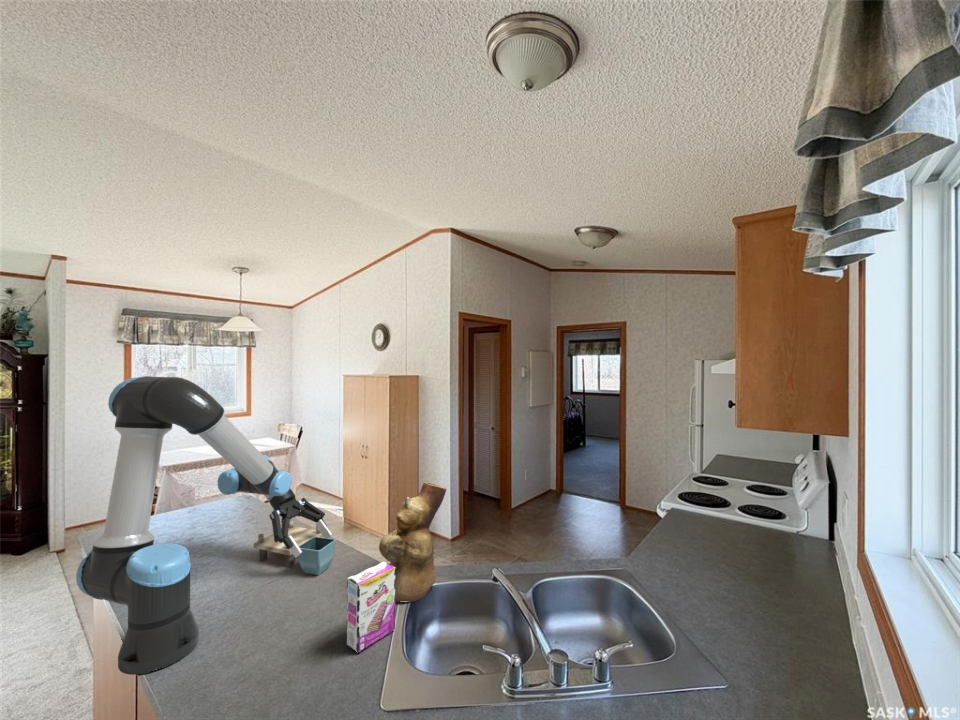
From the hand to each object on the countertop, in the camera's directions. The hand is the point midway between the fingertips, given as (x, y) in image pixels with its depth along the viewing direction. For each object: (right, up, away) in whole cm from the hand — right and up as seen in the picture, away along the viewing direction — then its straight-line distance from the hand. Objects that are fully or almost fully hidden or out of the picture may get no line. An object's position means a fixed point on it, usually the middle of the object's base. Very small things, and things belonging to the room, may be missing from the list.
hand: (314, 545), depth 136 cm
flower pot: (+1, -8, -2) cm, 8 cm away
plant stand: (-12, -7, +9) cm, 17 cm away
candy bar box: (+28, -8, -34) cm, 45 cm away
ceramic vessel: (+35, -7, -11) cm, 37 cm away
